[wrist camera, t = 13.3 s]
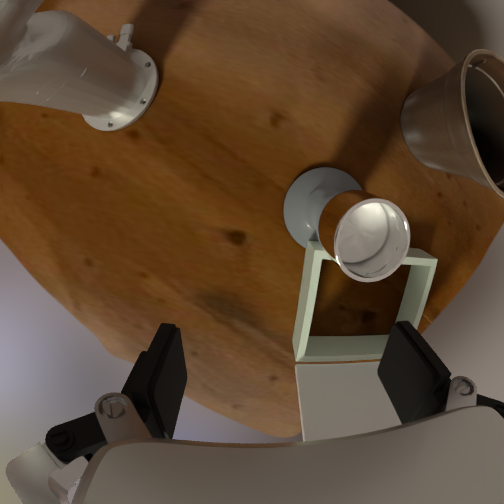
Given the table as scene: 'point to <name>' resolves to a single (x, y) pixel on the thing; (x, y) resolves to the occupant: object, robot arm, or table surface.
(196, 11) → the table surface
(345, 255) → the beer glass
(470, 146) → the plant pot
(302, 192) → the grey round coaster
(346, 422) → the lid
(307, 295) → the frame
